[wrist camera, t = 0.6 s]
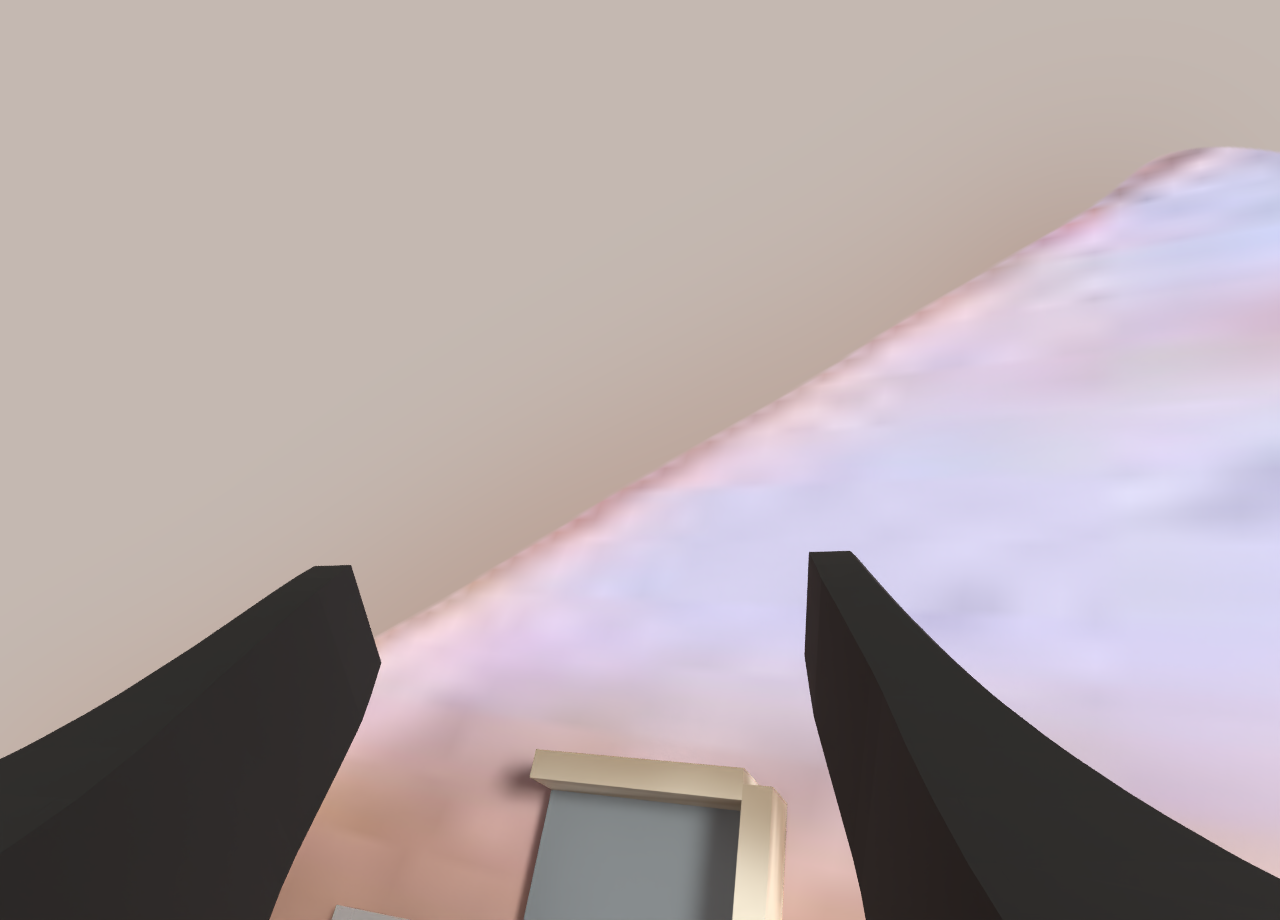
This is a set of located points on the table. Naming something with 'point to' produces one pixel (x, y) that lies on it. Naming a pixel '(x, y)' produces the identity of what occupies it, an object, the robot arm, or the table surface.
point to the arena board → (633, 860)
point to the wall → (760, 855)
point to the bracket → (360, 914)
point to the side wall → (642, 779)
